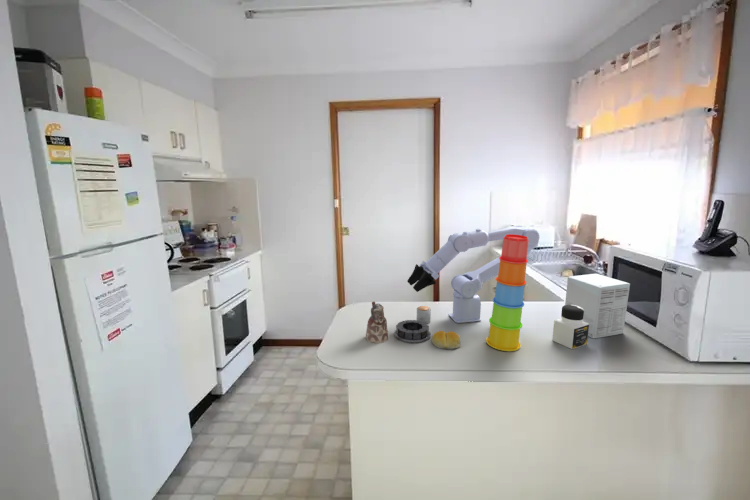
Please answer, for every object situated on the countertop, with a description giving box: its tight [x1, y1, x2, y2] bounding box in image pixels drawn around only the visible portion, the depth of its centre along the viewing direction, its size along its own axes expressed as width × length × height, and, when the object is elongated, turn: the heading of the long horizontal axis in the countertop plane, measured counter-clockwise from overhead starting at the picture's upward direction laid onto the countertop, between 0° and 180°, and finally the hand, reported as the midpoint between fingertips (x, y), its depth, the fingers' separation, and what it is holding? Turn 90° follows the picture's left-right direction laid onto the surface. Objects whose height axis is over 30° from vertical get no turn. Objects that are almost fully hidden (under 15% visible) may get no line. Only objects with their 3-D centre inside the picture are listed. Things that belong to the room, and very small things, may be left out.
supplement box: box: [564, 273, 631, 339], centre depth 125 cm, size 13×13×18 cm
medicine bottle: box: [552, 304, 589, 350], centre depth 116 cm, size 7×7×12 cm
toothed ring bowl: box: [393, 319, 432, 344], centre depth 123 cm, size 12×12×3 cm
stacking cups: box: [485, 234, 529, 352], centre depth 113 cm, size 10×10×35 cm
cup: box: [416, 305, 432, 325], centre depth 134 cm, size 5×5×5 cm
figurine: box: [365, 301, 389, 344], centre depth 120 cm, size 7×7×12 cm
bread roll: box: [431, 330, 461, 350], centre depth 117 cm, size 8×9×4 cm
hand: (411, 286), depth 130 cm, fingers open, 7 cm apart
